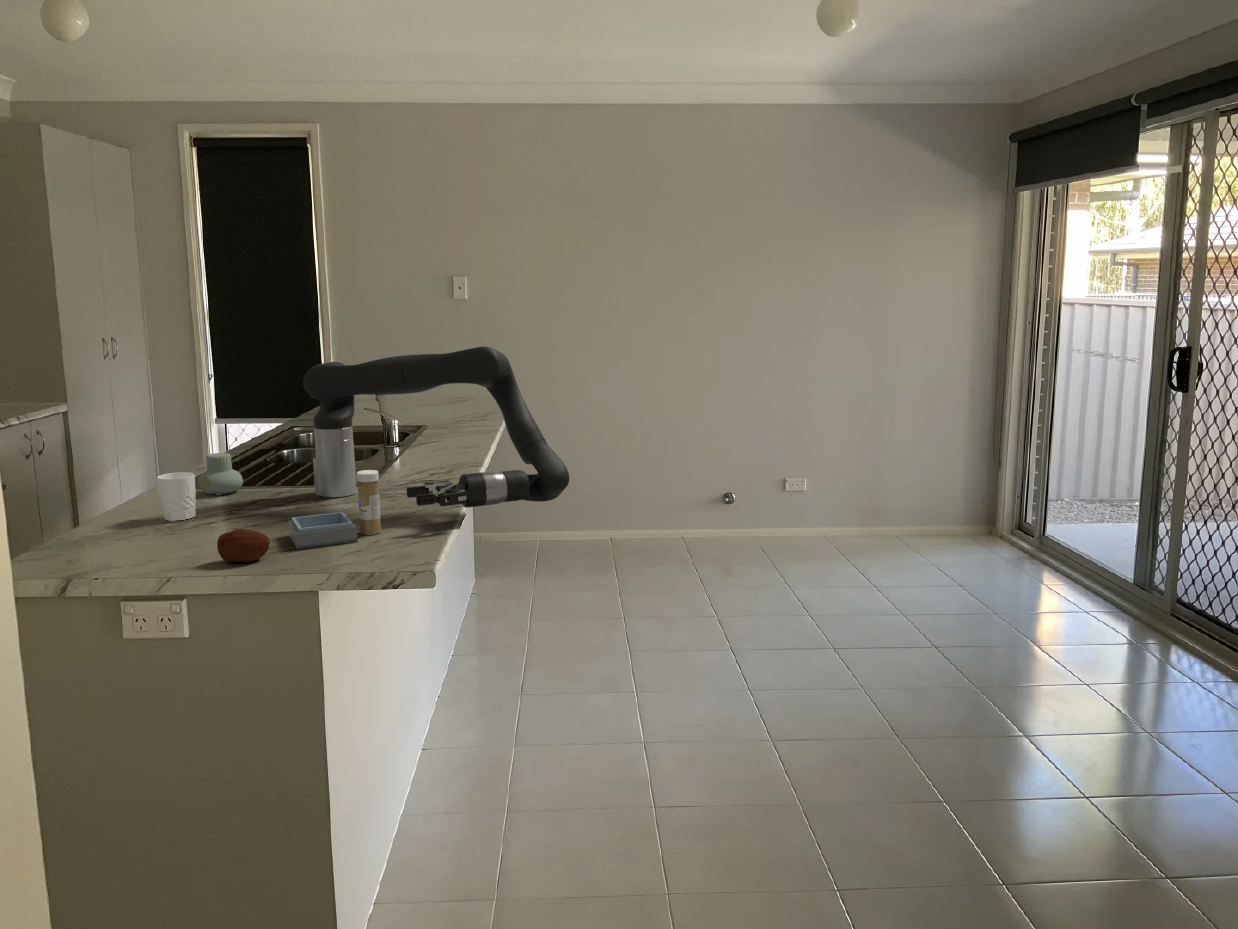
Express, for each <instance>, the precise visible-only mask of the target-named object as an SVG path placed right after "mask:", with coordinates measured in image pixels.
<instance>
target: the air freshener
mask: <svg viewBox="0 0 1238 929" xmlns="http://www.w3.org/2000/svg"><path fill="white" fill-rule="evenodd" d="M205 459H206V461H205V462H206V471H205V472H204V473H202V474H201V475H200V476H199V477H198V486H199V487H200V489H201V491H202V492H203V493H206V494H207V495H209V494H224V495H228V494H227V493H229V494H232V493H235V492H236V491H238V490H240V488H242V486H243V484H244V479H243V476H242V474H241V473H240V472H239V471H237V470H235V469H233V466H232V465H233V464H232V455H231V454H230V453H229V452H217V453H210V454H207V455H206V456H205ZM231 492H232V493H231Z"/></svg>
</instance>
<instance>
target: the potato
mask: <svg viewBox="0 0 1238 929" xmlns="http://www.w3.org/2000/svg"><path fill="white" fill-rule="evenodd" d="M216 542H217V544H216V546H217V547H216V548H217V552H218V555H219V556H220V558H221V559H222V560H223V561H225V562H227V563H251V562H254V561H257V560H259V559H261V558H263V556H265V555H266V553H267V552H268V551H269V549H270V546H271V542H270V537H268V536H267V535H266V534H265V533H263V532H260V531H258V530H255V529H254V530H253V529H247V528H246V529H245V528H237V529H234V530H233V529H232V530H231V531H229V532H224V533H222V534H220V535H219V536H218V539H217V541H216Z"/></svg>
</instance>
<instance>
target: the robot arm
mask: <svg viewBox="0 0 1238 929" xmlns="http://www.w3.org/2000/svg"><path fill="white" fill-rule="evenodd" d="M302 383H303V388H304V391H305V392H306V393H307V394H308V395H309V397H311V398H313V399H315V400H318V401H320V406H319V409H318V411H317V412H316V414H314V417H313V429H314V445H315V446H314V447H315V457H313V458H312V464H313V465H312V466H313V478H314V492H315V493H314V494H315V496H320V497H324V498H342V497H348V496H353V495H356V494H357V478H356V465H355V464H356V461H355V460H356V459H355V445H354V430H353V418H354V414H355V396H358V395H372V396H374V395H375V396H376V395H377V396H378V395H379V396H380V395H381V396H387V395H404V394H405V395H406V394H416V393H423V392H426V391H429V390H432V389H435V388H437V387H440V386H444V385H450V384H453V385H454V384H472V385H478V386H480V387H483V388H485V389H486V390H487V391H488V392H489V393H490V395H491V396H492V398H493V399H494V401H495V402H496V404H497V406H498V408H499V410H500V411H501V414H502V418H503V421H504V424H505V428H506V431H507V434H508V436H509V438H510V440H511V442H512V444H513V446H514V448H515V450H516V451H517V454H518V455H519V457H520V458H521V460H522V462H523V463H524V464H526V465H531V466H533V468H534V469H535V470H536V472H537V473H535V474H534V473H533V474H527V473H526V472H525V471H524V470H521V469H519V470H518V469H516V470H515V469H513V470H504V471H483V472H471V473H470V472H469V473H464V474H461V475H460V476H459V479H458V483H453V482H452V481H451V480H445V481H444V480H443V481H442V480H441V481H432V482H431V481H430V482H424V483H423V484H422V485H420V486H419V485H418V486H409V487H407V488H406V497H407V498H408V499H411V498H415V503H416V505H417V506H419V507H420V506H428V505H436V506H440V507H442V508H443V507H450V506H455V505H462V506H463V507H464V508H467V509H468V508H475V507H485V506H492V505H498V504H502V503H509V502H517V501H519V502H520V501H528V502H542V503H543V502H548V501H553V500H556V498H558V497H559V496H560V495H561V494H562V493H563V492H564V491H565V490H566V488H567V487H568V486H569V484H570V473H569V471H568V468H567V466H566V464H565V463H564V462H563V460H562V459H561V458H560V456H558V454H556V452H555V451H554V450H553V449H552V448H551V446H549V445H548V442H547V441H546V439H545V437H544V435H543V433H542V431H541V430H540V427H539V425H538V424H537V422H536V421H535V419H534V418H533V415H532V414H531V412H530V410H529V408H528V406H527V404H526V402H525V399H524V397H523V395H522V393H521V391H520V388H519V385H518V384H517V380H516V377H515V375H514V371H513V369H512V366H511V363H510V361H509V359H508V357H507V356H506V355H505V354H504V353H502V352H501V351H499V350H497V349H494V348H493V347H489V346H485V345H484V346H476V347H471V348H467V349H462V350H458V351H453V352H447V353H421V354H403V355H395V356H394V355H393V356H388V357H383V358H378V359H374V360H370V361H369V360H368V361H366V362H363V363H362V362H361V363H358V364H357V363H356V364H349V365H348V364H347V365H345V364H344V363H343V362H340V361H329V362H324V363H319V364H316V365H314V366H312V367H311V368H310V369H309V370H307V371H306V373H305V375H304V377H303V382H302ZM430 488H431V490H430Z"/></svg>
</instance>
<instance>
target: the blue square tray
mask: <svg viewBox="0 0 1238 929" xmlns="http://www.w3.org/2000/svg"><path fill="white" fill-rule="evenodd" d="M287 522H288V523H287V526H288V535H289V537H290V539H291V542H293V544H294V546H295V548H296V549H297V550H302V549H303V550H304V549H311V548H319V546H320V547H327V546H335V545H341V544H342V545H343V544H349V543H358V541H359V540H358V530H357V529H358V528H357V525H356V524H355V523H353V521H352V520H351V518H350V517H348V515H347V514H345V512H343V511H339V512H332V513H321V514H313V515H304V516H296V517H295V516H294V517H291V520H288V521H287Z"/></svg>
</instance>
